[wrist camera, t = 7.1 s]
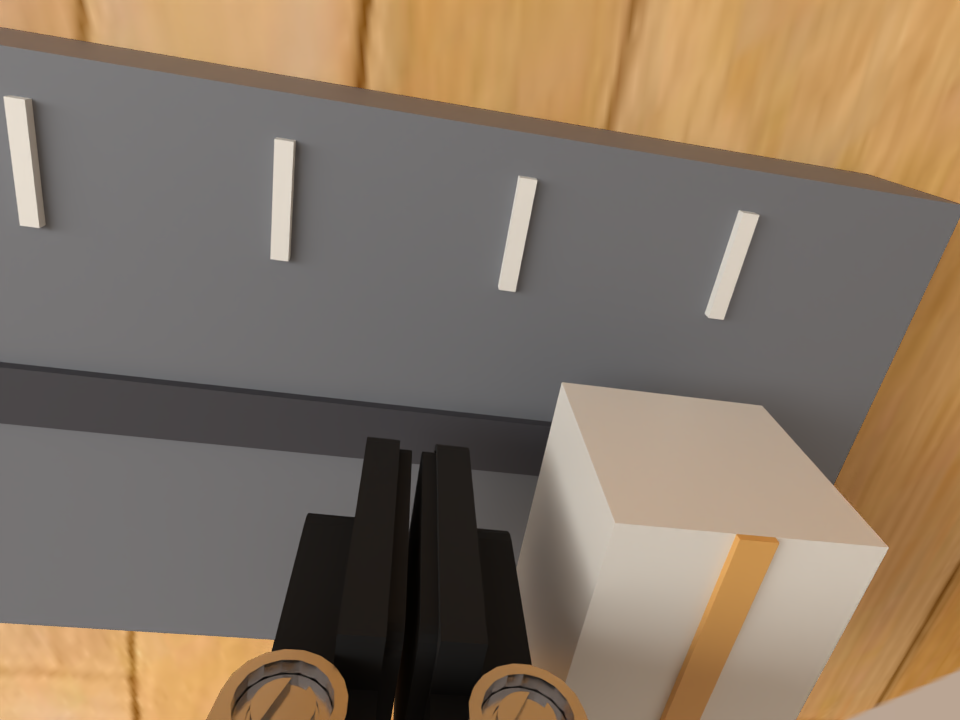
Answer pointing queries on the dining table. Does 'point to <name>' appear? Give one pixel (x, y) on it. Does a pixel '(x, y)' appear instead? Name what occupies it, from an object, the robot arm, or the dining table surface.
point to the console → (374, 311)
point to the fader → (686, 559)
